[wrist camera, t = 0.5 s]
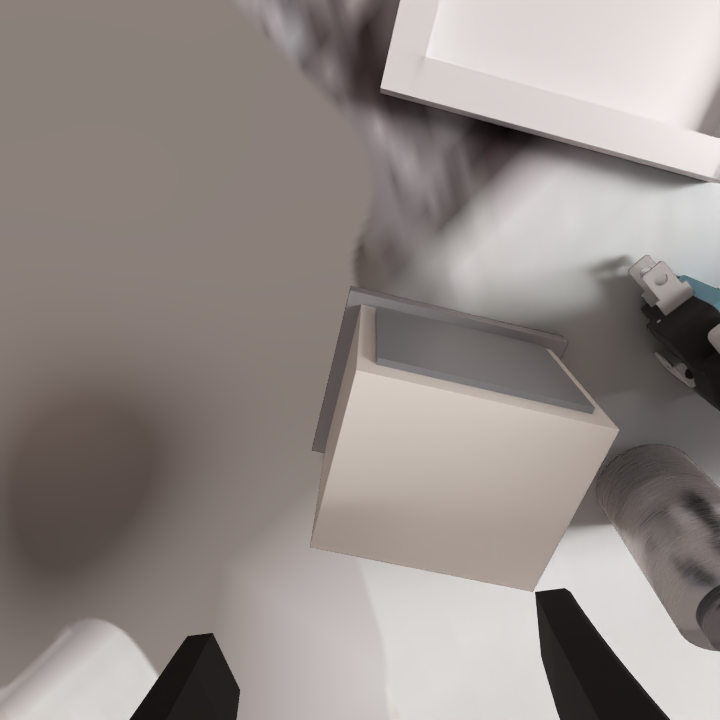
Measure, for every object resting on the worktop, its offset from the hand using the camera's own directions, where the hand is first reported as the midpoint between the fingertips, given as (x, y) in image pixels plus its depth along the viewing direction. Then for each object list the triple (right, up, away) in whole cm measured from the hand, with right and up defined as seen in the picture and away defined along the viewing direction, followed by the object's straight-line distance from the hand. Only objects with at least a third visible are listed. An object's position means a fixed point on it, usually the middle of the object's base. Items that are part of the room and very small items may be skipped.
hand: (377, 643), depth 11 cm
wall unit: (+2, +5, +8) cm, 10 cm away
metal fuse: (+12, +1, +10) cm, 15 cm away
